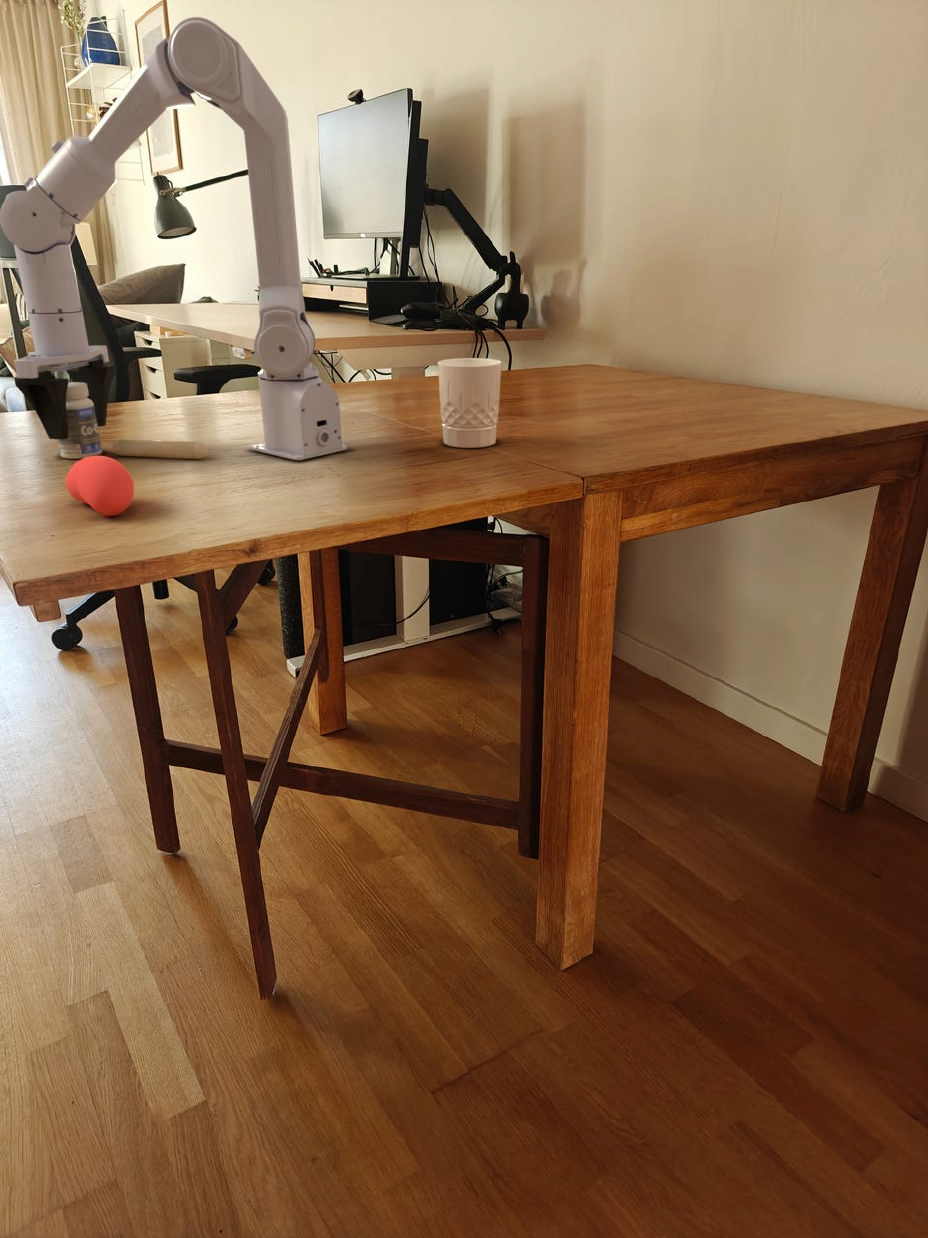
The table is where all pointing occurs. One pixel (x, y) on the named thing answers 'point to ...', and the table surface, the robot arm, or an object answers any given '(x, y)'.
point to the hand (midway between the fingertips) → (78, 431)
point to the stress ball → (101, 484)
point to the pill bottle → (80, 425)
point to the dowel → (160, 448)
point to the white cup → (469, 401)
